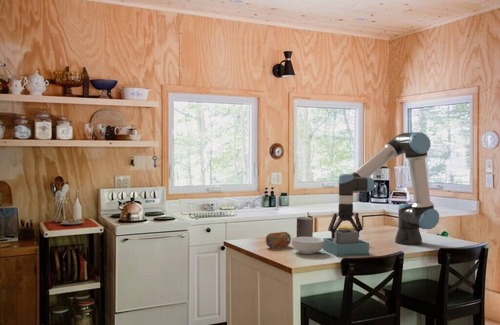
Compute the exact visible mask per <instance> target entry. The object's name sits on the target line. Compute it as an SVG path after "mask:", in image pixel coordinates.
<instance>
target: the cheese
mask: <svg viewBox="0 0 500 325" xmlns="http://www.w3.org/2000/svg"><path fill="white" fill-rule="evenodd" d="M337 230H353V231H356V230H355V229H354V227H353V225H339V227H338V228H337Z"/></svg>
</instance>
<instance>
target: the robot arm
mask: <svg viewBox="0 0 500 325" xmlns="http://www.w3.org/2000/svg"><path fill="white" fill-rule="evenodd" d="M431 144H432V142H431V140H430V138H429V136H428V135H427V134H425V133H424V132H421V131H420V132H419V131H412V132H402V133H400V134H398V135H396V136H395V137H393V138H392V139H391V140H389V141H387V142H386V143H385V144H384V147H383V148H382V149H381V150H380V151H378V152H376V154H375V155H373V156H372V157H371V158H369V159H368V160H367V161H365V162H364V164H362V165H361V166H359V167H358V168H357V169H356V170H355V171H353V172H352V173H341V174H340V175H339V176H338V212H333V213H332V218H331V220H330V223H329V225H328V228H327V230H328V232H331V236H330V238H333V242H334V243H336V232H335V231H336V230H338V227H339V226H341V224H342V222H345V221H347V222H350V224H351V226H353V227H354V229H355V230H356V232H358V233H359V234H360V232H361V231H363V230H364V229H363V225H362V223H361V220H360V217H359V212H354V211H353V210H354V204H353V203H354V193H355V192H356V193H357V192H363V193H364V192H366V193H368V192H372V191H373V190H374V188H375V180H374V179H373V178H372V177H371V176H372V175H373V174H375V173H376V172H377V171H379V169H381V168H382V167H383V166H384V165H386V164H387V163H388V162H389V161H391V160H392V159H395V158H397V157H399V156H400V155H402V154H404V156H405V159H407V160H408V164H409V166H408V167H409V174H410V180H411V189H412V195H413V203H401V204H399V205H398V219H397V220H398V223H397V224H398V225H397V226H398V229H397V232H396V234H395V238H394V242H395V243H397V244H399V245H407V246H410V245H411V246H417V245H418V246H419V245H422V244H423V238H422V234H421V232H420V229H423V230H432V229H434V228H436V226H438V225H437V224H439V222H440V213H439V212H438V210H436V209H435V207H434V205H435V204H434V203H433V202H432V201H431V196H430V188H429V182H428V181H429V180H428V171H427V164H426V158H427V157H428V152H429V150H430V148H431ZM353 217H354V218H353ZM336 220H337V221H336ZM354 220H355V221H354Z"/></svg>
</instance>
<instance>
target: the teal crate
mask: <svg viewBox="0 0 500 325" xmlns="http://www.w3.org/2000/svg"><path fill="white" fill-rule="evenodd" d="M322 239H323V240H324V246H323V248H322V250H323V251H324V252H327V253H329V254H331V255H333V256H335V257H352V256H354V257H355V256H369V254H370V243H369V242H367V241H364V240H363V239H358V243H356V244H336V243H334V242H333V238H332V237H326V238H323V237H322Z"/></svg>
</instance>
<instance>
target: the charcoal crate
mask: <svg viewBox="0 0 500 325" xmlns="http://www.w3.org/2000/svg"><path fill="white" fill-rule="evenodd" d="M335 232H336V244H356V243H358V239H359V238H360V232H359V233H358V232H356V231H353V230H338V229H337V230H336V231H335ZM359 240H360V239H359Z"/></svg>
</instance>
